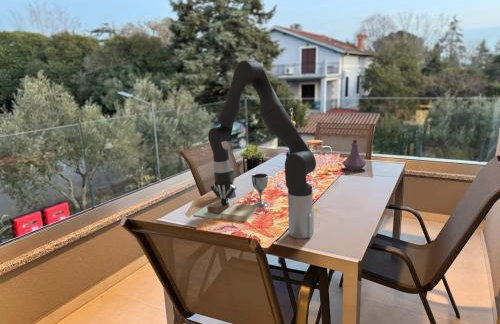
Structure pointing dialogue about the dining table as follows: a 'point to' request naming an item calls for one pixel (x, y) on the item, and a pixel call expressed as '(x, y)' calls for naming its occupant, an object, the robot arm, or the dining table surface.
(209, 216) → the mat
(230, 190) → the coffeepot
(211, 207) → the brown rectangular block
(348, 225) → the dining table surface
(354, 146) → the flask
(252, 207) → the board
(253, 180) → the wine glass
